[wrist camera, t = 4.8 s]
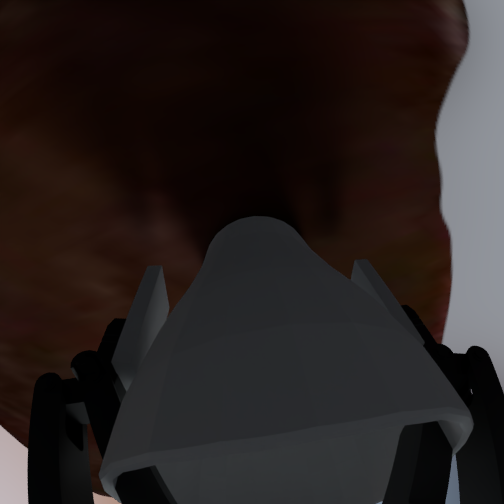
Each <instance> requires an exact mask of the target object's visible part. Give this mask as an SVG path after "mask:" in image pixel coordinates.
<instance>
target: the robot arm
mask: <svg viewBox="0 0 504 504" xmlns="http://www.w3.org/2000/svg"><path fill="white" fill-rule="evenodd" d="M351 281H352V282H353V283H355V284H356V285H358V286H359V287H360V288H362V289H363V290H365V291H366V292H367V293H368V294H369V295H370V296H371V297H372V298H374V299H375V300H376V301H377V302H378V303H379V304H380V305H381V306H382V307H383V308H384V309H385V310H386V311H387V312H388V313H390V314H391V315H392V316H393V317H394V318H395V319H396V320H397V321H398V322H399V323H400V324H401V325H402V326H403V327H404V328H405V329H406V330H407V331H408V332H409V333H410V334H411V335H412V336H413V337H414V338H416V339H417V340H418V341H419V342H420V343H421V344H422V345H423V347H424V348H425V349H426V351H427V352H428V353H429V355H430V356H431V357H432V359H433V360H434V361H435V363H436V364H437V365H438V367H439V368H440V369H441V371H442V372H443V374H444V375H445V376H446V378H447V379H448V380H449V382H450V383H451V385H452V386H453V388H454V389H455V390H456V392H457V393H458V395H459V396H460V398H461V399H462V400H463V402H464V403H465V405H466V406H467V408H468V409H469V411H470V413H471V416H472V419H473V423H474V426H473V430H472V432H471V434H470V435H469V437H468V439H467V441H466V443H465V444H464V445H463V446H462V447H461V448H460V450H459V451H458V452H457V453H456V461H457V469H458V478H459V479H458V480H459V492H460V504H504V393H503V390H502V387H501V385H500V382H499V379H498V377H497V374H496V371H495V369H494V366H493V364H492V361H491V359H490V357H489V354H488V353H487V351H485V350H484V349H483V348H481V347H479V346H471V347H470V348H469V349H468V350H467V352H466V354H457V353H453V352H452V351H451V349H450V348H448V347H447V346H445V345H443V344H437V343H436V341H435V340H434V338H433V337H432V335H431V334H430V332H429V331H428V329H427V328H426V326H425V325H423V322H422V321H421V319H419V316H418V315H417V314H416V312H415V311H414V310H413V309H412V308H410V307H409V306H408V305H401V306H400V304H399V303H398V301H397V300H396V298H395V297H394V296H393V294H392V293H391V291H390V290H389V289H388V287H387V286H386V284H385V283H384V282H383V280H382V279H381V278H380V276H379V275H378V273H377V272H376V271H375V269H374V268H373V267H372V265H371V264H370V263H369V261H368V260H367V259H363V260H355V261H354V266H353V271H352V276H351ZM168 311H169V303H168V298H167V293H166V287H165V281H164V276H163V270H162V266H148V267H147V269H146V272H145V274H144V276H143V279H142V281H141V284H140V286H139V288H138V291H137V293H136V296H135V298H134V301H133V303H132V306H131V309H130V311H129V314H128V316H127V319H117V318H115V319H114V320H113V321H112V322H111V323H110V324H109V325H108V326H107V329H106V331H105V333H104V336H103V338H102V342H101V343H100V346H99V348H98V351H97V352H96V351H91V350H88V351H83V352H81V353H79V354H77V355H76V356H75V357H74V358H73V360H72V362H71V369H72V371H73V373H74V375H75V376H76V378H72V379H66V380H62V379H61V378H60V377H59V375H57V374H56V373H46V374H43V375H42V376H40V377H39V378H38V380H37V381H36V384H35V387H34V394H33V401H32V409H31V418H30V429H29V443H28V502H29V504H94V500H93V492H92V485H91V476H90V466H89V455H88V439H87V424H89V423H90V424H91V427H92V430H93V433H94V436H95V439H96V442H97V445H98V448H99V451H100V453H101V456H102V459H104V455H105V452H106V449H107V446H108V442H109V439H110V436H111V433H112V430H113V427H114V424H115V421H116V418H117V415H118V412H119V409H120V406H121V403H122V400H123V398H124V396H125V394H126V392H127V390H128V388H129V387H130V385H131V383H132V381H133V379H134V377H135V375H136V373H137V371H138V369H139V367H140V366H141V364H142V362H143V360H144V358H145V356H146V354H147V352H148V351H149V349H150V347H151V345H152V343H153V341H154V340H155V338H156V336H157V334H158V332H159V331H160V329H161V327H162V326H163V324H164V323H165V321H166V319H167V315H168ZM471 389H472V393H473V394H472V393H471ZM452 452H453V449H452V447H451V445H450V443H449V441H448V439H447V437H446V436H445V434H444V432H443V430H442V429H441V427H440V425H439V423H438V421H432V422H426V423H419V424H412V425H405V426H404V428H403V429H402V431H401V434H400V437H399V441H398V446H397V451H396V455H395V459H394V463H393V467H392V471H391V475H390V479H389V482H388V486H387V489H386V493H385V496H384V499H383V503H382V504H445V500H446V495H447V489H448V484H449V483H448V482H449V477H450V470H451V461H452ZM115 490H116V492H117V494H118V496H119V499H120V501H121V503H122V504H177V502H176V500H175V499H174V497H173V496H172V494H171V492H170V491H169V489H168V487H167V486H166V484H165V482H164V480H163V479H162V477H161V475H160V473H159V471H158V470H157V468H156V466H155V465H153V466H149V467H145V468H141V469H137V470H132V471H127V472H123V473H122V474H120V475H119V476H118V478H117V482H116V486H115Z"/></svg>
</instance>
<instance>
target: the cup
mask: <svg viewBox="0 0 504 504" xmlns="http://www.w3.org/2000/svg"><path fill="white" fill-rule="evenodd" d="M432 421H438V423H439V425H440V427H441V429H442V430H443V432H444V434H445V436H446V437H447V439H448V441H449V443H450V445H451V447H452V449H453V452H452V457H453V456H454V455H455V454H456V453H457V452H458V451H459V450H460V448H461V447H462V446H463V445H464V444H465V443H466V441H467V439H468V437H469V435H470V434H471V432H472V430H473V426H474V423H473V419H472V416H471V413H470V411H469V409H468V408H467V406H466V405H465V403H464V402H463V400H462V399H461V398H460V396H459V395H458V393H457V392H456V390H455V389H454V388H453V386H452V385H451V383H450V382H449V380H448V379H447V378H446V376H445V375H444V374H443V372H442V371H441V369H440V368H439V367H438V365H437V364H436V363H435V361H434V360H433V359H432V357H431V356H430V355H429V353H428V352H427V351H426V349H425V348H424V347H423V345H422V344H421V343H420V342H419V341H418V340H417V339H416V338H414V337H413V336H412V335H411V334H410V333H409V332H408V331H407V330H406V329H405V328H404V327H403V326H402V325H401V324H400V323H399V322H398V321H397V320H396V319H395V318H394V317H393V316H392V315H391V314H390V313H388V312H387V311H386V310H385V309H384V308H383V307H382V306H381V305H380V304H379V303H378V302H377V301H376V300H375V299H374V298H372V297H371V296H370V295H369V294H368V293H367V292H366V291H365V290H363V289H362V288H360V287H359V286H358V285H356V284H355V283H353V282H352V281H351V280H349V279H348V278H346V277H345V276H344V275H342V274H341V273H339V272H338V271H337V270H335V269H334V268H332V267H331V266H330V265H329V264H327V263H326V262H325V261H324V260H323V259H322V258H320V257H319V256H318V255H317V254H316V253H315V252H313V251H312V250H311V249H310V248H309V246H308V245H307V244H306V242H305V241H304V240H303V239H302V237H301V236H300V235H299V234H298V233H297V231H296V230H295V229H294V228H293V227H291V226H290V225H288V224H286V223H285V222H283V221H281V220H278V219H275V218H272V217H266V216H252V217H247V218H242V219H239V220H237V221H235V222H232V223H230V224H228V225H227V226H225V227H224V228H223V229H222V230H221V231H220V232H218V233H217V234H216V236H215V237H214V239H213V240H212V242H211V243H210V245H209V247H208V250H207V253H206V256H205V259H204V262H203V265H202V268H201V269H200V271H199V272H198V274H197V276H196V277H195V279H194V281H193V283H192V284H191V286H190V287H189V289H188V290H187V291H186V293H185V294H184V295H183V297H182V298H181V300H180V301H179V302H178V304H177V305H176V306H175V308H174V309H173V311H172V312H171V314H170V315H169V317H168V318H167V320H166V321H165V323H164V324H163V326H162V327H161V329H160V331H159V332H158V334H157V336H156V338H155V340H154V341H153V343H152V345H151V347H150V349H149V351H148V352H147V354H146V356H145V358H144V360H143V362H142V364H141V366H140V367H139V369H138V371H137V373H136V375H135V377H134V379H133V381H132V383H131V385H130V387H129V388H128V390H127V392H126V394H125V396H124V398H123V400H122V403H121V406H120V409H119V412H118V415H117V418H116V421H115V424H114V427H113V430H112V433H111V436H110V439H109V442H108V446H107V449H106V452H105V455H104V459H103V462H102V465H101V469H100V472H99V477H100V480H101V483H102V486H103V488H104V490H105V492H107V493H108V494H109V495H110V496H112V497H113V498H114V499H115V500H117V501H118V502H120V503H121V501H120V499H119V496H118V494H117V492H116V490H115V486H116V482H117V478H118V476H119V475H120V474H122V473H123V472H127V471H132V470H137V469H141V468H145V467H149V466H153V465H155V466H156V468H157V470H158V471H159V473H160V475H161V477H162V479H163V480H164V482H165V484H166V486H167V487H168V489H169V491H170V492H171V494H172V496H173V497H174V499H175V500H176V502H177V504H376V503H378V502H381V501H383V499H384V496H385V493H386V489H387V486H388V482H389V479H390V475H391V471H392V467H393V463H394V459H395V455H396V451H397V446H398V441H399V437H400V434H401V431H402V429H403V428H404V426H405V425H412V424H419V423H426V422H432ZM121 504H122V503H121Z"/></svg>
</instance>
